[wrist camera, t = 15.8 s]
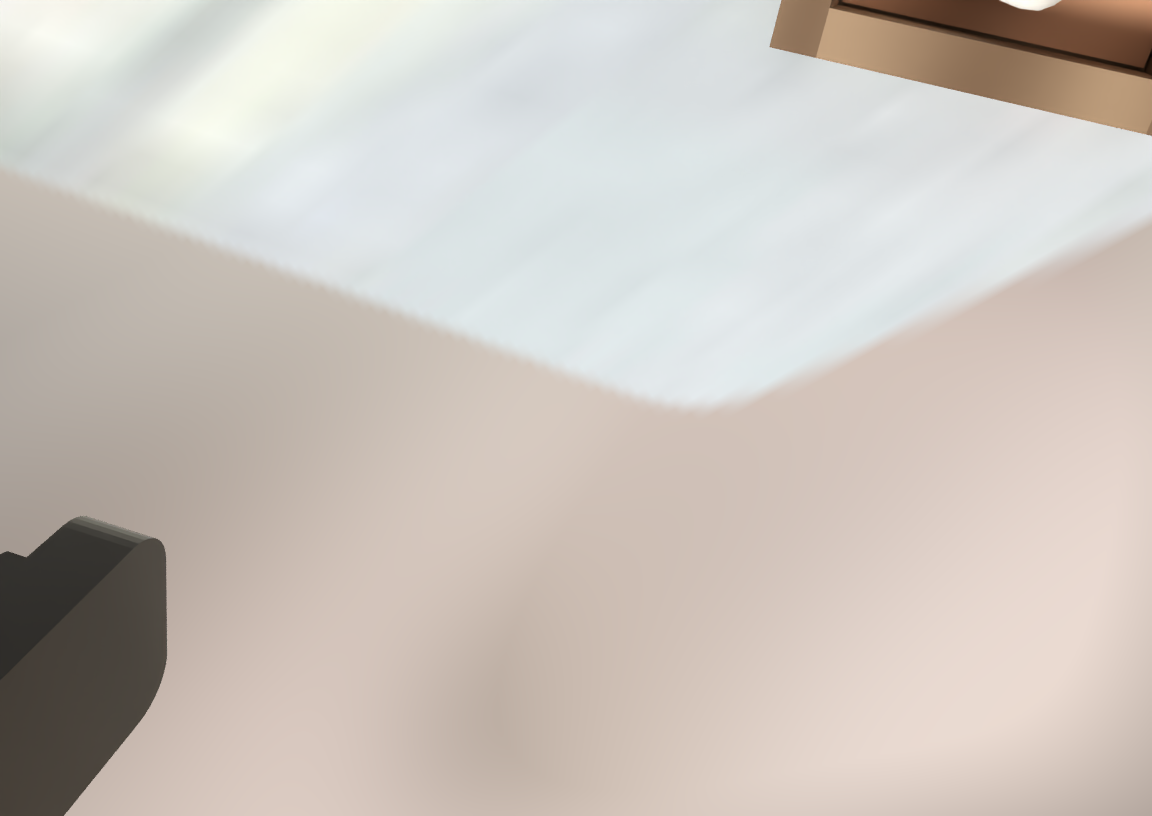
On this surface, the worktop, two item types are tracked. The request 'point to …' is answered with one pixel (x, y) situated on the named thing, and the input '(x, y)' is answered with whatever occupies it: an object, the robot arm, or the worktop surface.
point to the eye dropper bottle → (1031, 4)
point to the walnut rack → (993, 50)
